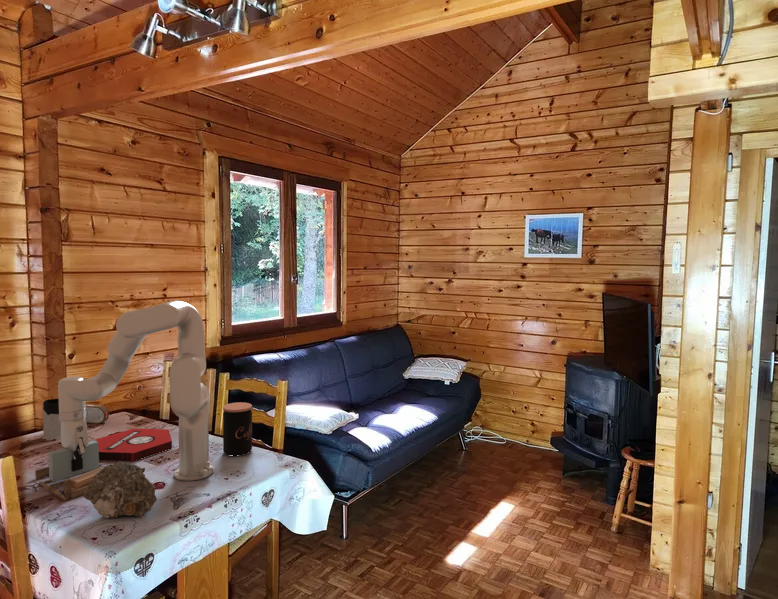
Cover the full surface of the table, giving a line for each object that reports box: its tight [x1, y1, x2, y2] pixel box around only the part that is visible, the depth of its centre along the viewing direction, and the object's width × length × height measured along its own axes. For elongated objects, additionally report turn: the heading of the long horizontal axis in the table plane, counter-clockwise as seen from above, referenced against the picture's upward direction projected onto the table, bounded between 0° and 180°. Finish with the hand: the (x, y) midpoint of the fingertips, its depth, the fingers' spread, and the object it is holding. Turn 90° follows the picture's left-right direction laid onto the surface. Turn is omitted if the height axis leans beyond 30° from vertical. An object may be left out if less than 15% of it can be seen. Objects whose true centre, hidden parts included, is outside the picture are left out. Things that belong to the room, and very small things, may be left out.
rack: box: [34, 465, 104, 502], centre depth 167 cm, size 24×18×6 cm
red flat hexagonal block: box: [95, 428, 173, 462], centre depth 197 cm, size 27×4×30 cm
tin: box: [85, 403, 110, 425], centre depth 226 cm, size 15×3×8 cm, turn 82°
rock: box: [83, 461, 158, 519], centre depth 147 cm, size 18×14×15 cm
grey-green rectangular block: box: [47, 439, 100, 483], centre depth 168 cm, size 3×14×9 cm, turn 144°
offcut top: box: [70, 468, 102, 489], centre depth 162 cm, size 4×10×2 cm, turn 155°
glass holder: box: [42, 398, 61, 441], centre depth 209 cm, size 9×14×15 cm, turn 118°
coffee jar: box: [222, 402, 253, 457], centre depth 194 cm, size 11×11×18 cm
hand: (74, 468), depth 169 cm, fingers closed on grey-green rectangular block, 3 cm apart
